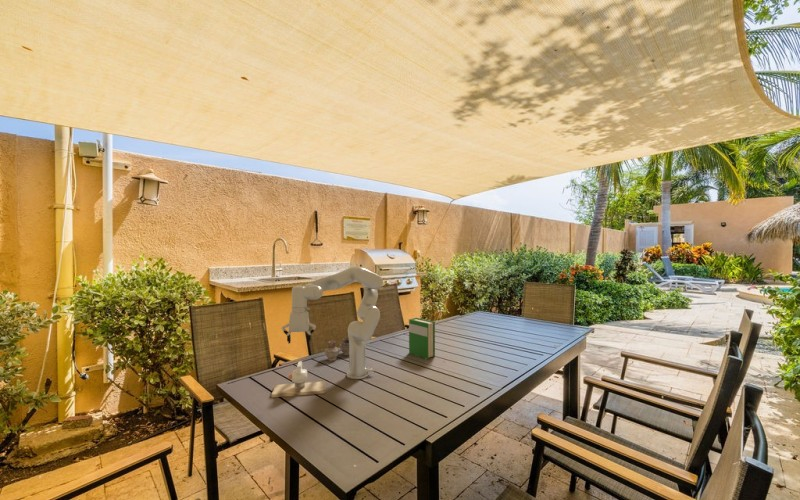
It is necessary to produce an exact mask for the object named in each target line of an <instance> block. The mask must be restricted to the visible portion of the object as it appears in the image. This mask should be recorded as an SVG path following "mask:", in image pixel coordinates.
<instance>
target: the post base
mask: <svg viewBox="0 0 800 500" xmlns="http://www.w3.org/2000/svg"><path fill="white" fill-rule="evenodd" d="M325 393H326V381H325V380H322V381H308V382H307V381H305V382H303V383H293V382H292V383H283V384H282V383H281V384H275V386H274V387H273V390H272V392H271V395H270V396H271V398H279V397H280V398H281V397H293V396H294V397H295V396H307V395H319V394H322V395H323V394H325Z"/></svg>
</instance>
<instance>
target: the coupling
mask: <svg viewBox="0 0 800 500" xmlns="http://www.w3.org/2000/svg"><path fill="white" fill-rule="evenodd" d="M288 380H291V382H292V384H293V383H303V382H305V383H306V382H307V381H308V369H306V368H303V361H301V360H299V361H298V363H297V366H296V369H294V370H292V371H291V373H289V374H288Z"/></svg>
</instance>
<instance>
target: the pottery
mask: <svg viewBox="0 0 800 500" xmlns="http://www.w3.org/2000/svg"><path fill="white" fill-rule="evenodd" d="M342 341H343V342H341V343H340V344H339V348H338V347H337V346H336V344H337V342H336V340H329V341H328V342H327V344H328V346H327V348H325V349H324V354H325V356H326V357H327V361H330V362H333V361H337V358H338V356H339V354H340V351H341V352H342V354H343V355H344V356H349V337H344V338H343V339H342Z"/></svg>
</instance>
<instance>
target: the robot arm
mask: <svg viewBox="0 0 800 500" xmlns="http://www.w3.org/2000/svg"><path fill="white" fill-rule="evenodd" d="M353 283H359V284H361V285H362V288H363V297H362V299H361V302H360V304H359V306H358V308H357V311H356V315H357V318H359V319H360V320H362V321H359V320H354V321H351V322H350V323H349V324H348V327H347V338H349V355H348V362H349V363H348V364H349V368H348V369H349V371H347V372H346V377H347V378H348V379H351V380H362V379H365V378H368V375H369V373H374V368H372V367H367V366H366V364H367V363H366V362H367V361H366V359H367V356H366V347H367V346H366V342H368V341H369V340H371V339H372V337H373V336H374V334H375V331H376V328H377V326H378V324H379V322H380V319H381V311H380V309H379V308H378V307H377V306H376V305H377V301H378V299H379V292H378V290H380V289H381V288H382V287H383V284H384V279H383V277H382V276H380V275H379V274H377V273H375V272H373V271H370V270H369V269H366V268H364V267H359V266H351V267H349V268H346V269H344V270H342V271H340V272H337V273H335V274H332V275H328V276H325V277H321V278H319V279H315V280H312V281H311V282H308V283H307V284H305V285H294V286H293V287H292V288H291V312H290V313H289V319H288V323H286V324H285V325H283V326H282V327H281V330H282V332H283V334H285V336H286V338H287V340H286V341H287V342H288V343H287V344H291V341H292V340H291V333H305V332H306V334H307V343H308V344H309V343H310V341H311V338H312V336H311V335H312V334H313V333H314V332H315V330H316V328H317V325H315V324H314V323H311V322H310V315H309V314H310V313H309V311H310V309H311V308H310V307H309V306H307V304H308V300H313V301H314V300H315V301H316V300H318V299H320V298H322V296H323V294H324V292H326V291H333V290H334V291H335V290H338V289H342V288H344V287H347V286H349V285H351V284H353ZM310 327H311V328H312V329H311V330H310ZM286 328H288V330H287V329H286Z"/></svg>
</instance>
